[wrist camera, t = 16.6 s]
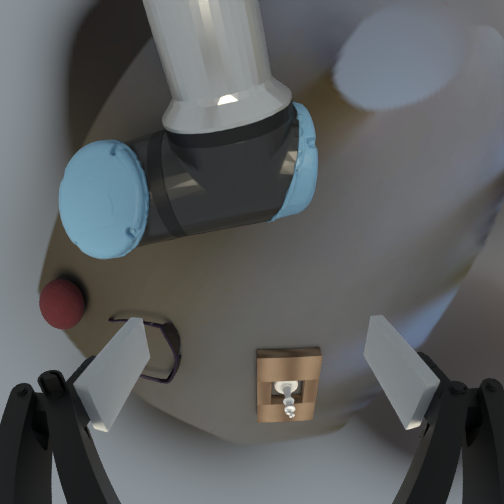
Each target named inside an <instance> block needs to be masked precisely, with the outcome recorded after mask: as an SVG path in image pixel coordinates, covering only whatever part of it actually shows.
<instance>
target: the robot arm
mask: <svg viewBox="0 0 504 504" xmlns="http://www.w3.org/2000/svg"><path fill="white" fill-rule="evenodd" d="M143 3H144V7H145V10H146V13H147V17H148V21H149V24H150V27H151V31H152V34H153V37H154V41H155V44H156V47H157V51H158V54H159V57H160V60H161V63H162V67H163V70H164V73H165V76H166V79H167V82H168V85H169V89H170V92H171V95H172V100H171V102H170V104H169V106H168V107H167V109H166V111H165V113H164V115H163V117H162V123H163V127H164V129H165V130H163V131H159V132H156V133H153V134H150V135H147V136H143V137H140V138H138V139H135V140H132V141H129V142H125V143H122V142H120V141H117V140H103V141H95V142H92V143H90V144H88V145H86V146H84V147H83V148H81V149H80V150H79V151H78V152H77V153H76V154H75V155H74V156H73V157H72V159H71V160H70V162H69V163H68V165H67V167H66V169H65V176H64V178H63V180H62V181H61V183H60V189H59V210H60V216H61V220H62V223H63V226H64V228H65V230H66V233H67V234H68V236H69V238H70V239H71V240H72V242H73V243H74V244H76V245H77V246H78V247H79V248H80V250H81V251H82V252H84V253H85V254H87V255H89V256H91V257H94V258H99V259H110V258H117V257H122V256H125V255H126V254H127V253H129V252H131V250H132V249H134V248H137V247H140V246H144V245H148V244H152V243H157V242H161V241H167V240H173V239H176V238H179V237H184V236H188V235H195V234H201V233H206V232H211V231H217V230H222V229H227V228H233V227H238V226H244V225H250V224H255V223H261V222H270V221H274V220H276V219H278V218H281V217H285V216H289V215H293V214H297V213H299V212H301V211H303V210H304V209H305V208H306V207H307V206H308V205H309V203H310V201H311V199H312V197H313V195H314V191H315V187H316V182H317V173H318V151H317V148H316V147H315V138H316V135H315V129H314V125H313V122H312V119H311V116H310V114H309V112H308V110H307V109H306V108H305V107H304V106H303V105H302V104H299V103H296V102H293V101H292V94H291V91H290V89H289V88H288V87H286V86H285V85H283V84H282V83H281V82H279V81H278V80H276V79H275V78H274V77H273V76H272V75H271V71H270V65H269V59H268V52H267V46H266V40H265V35H264V29H263V23H262V18H261V12H260V7H259V2H258V0H143ZM363 356H364V357H365V359H366V361H367V362H368V364H369V366H370V367H371V369H372V371H373V373H374V374H375V376H376V378H377V379H378V381H379V383H380V385H381V386H382V388H383V390H384V391H385V393H386V395H387V397H388V399H389V400H390V402H391V404H392V406H393V407H394V409H395V411H396V413H397V414H398V416H399V418H400V420H401V422H402V423H403V425H404V427H405V429H406V430H407V429H411V428H414V427H417V426H420V424H421V422H422V420H423V418H424V417H425V419H426V420H427V424H426V426H425V428H424V430H423V431H422V433H421V435H420V438H421V440H420V443H419V445H418V448H417V451H416V453H415V456H414V458H413V461H412V463H411V465H410V468H409V470H408V472H407V475H406V477H405V479H404V481H403V483H402V485H401V487H400V489H399V491H398V494H397V495H396V497H395V499H394V502H393V503H392V504H446V501H447V498H448V495H449V492H450V489H451V486H452V482H453V479H454V475H455V472H456V468H457V464H458V459H459V455H460V451H461V446H462V459H463V499H462V504H504V389H503V386H502V385H501V383H500V382H499V381H497V380H495V379H491V378H488V379H485V380H483V381H482V383H481V385H480V387H479V388H472V389H468V387H467V386H466V385H465V384H464V383H462V382H459V381H450V380H449V379H448V378H447V376H446V375H445V374H444V373H443V372H442V371H441V370H440V369H439V367H437V365H436V364H435V363H433V361H432V360H431V359H430V357H429V356H427V355H425V354H424V353H422V352H417V353H416V352H415V351H414V350H413V348H412V347H411V346H410V345H409V344H408V343H407V342H406V341H405V339H404V338H403V337H402V336H401V335H400V334H399V333H398V332H397V331H396V330H395V328H394V327H393V326H392V325H391V324H390V323H389V322H388V321H387V320H386V319H385V318H384V316H383V315H375V316H370V322H369V328H368V334H367V339H366V345H365V350H364V354H363ZM149 359H150V354H149V349H148V345H147V340H146V335H145V330H144V324H143V319H142V318H133V317H131V318H130V319H129V320H128V321H127V322H126V323H125V324H124V326H123V327H122V328H121V329H120V330H119V331H118V332H117V333H116V335H115V336H114V337H113V338H112V339H111V340H110V341H109V343H108V344H107V345H106V346H105V347H104V348H103V349H102V351H101V352H100V353H99V354H98V355H97V356H91V357H89V358H88V359H86V360H85V361H84V362H83V363H82V364H81V366H80V367H79V368H78V369H77V370H76V371H75V372H74V373H73V374H72V376H71V377H70V378H69V379H68V380H67V381H66V382H65V379H64V377H63V375H62V373H61V372H60V371H57V370H49V371H46V372H44V373H42V374H41V375H40V376H39V377H38V384H39V386H40V387H41V390H42V392H43V393H37V392H34V390H33V388H32V387H31V385H30V384H27V383H21V384H18V385H16V386H15V387H14V388H13V389H12V391H11V393H10V396H9V399H8V402H7V404H6V407H5V410H4V414H3V417H2V420H1V423H0V504H52V494H51V473H52V471H51V470H52V452H53V455H54V459H55V463H56V467H57V471H58V475H59V479H60V482H61V485H62V489H63V492H64V495H65V498H66V501H67V504H121V503H120V501H119V499H118V497H117V495H116V493H115V491H114V489H113V487H112V485H111V483H110V481H109V479H108V477H107V474H106V472H105V470H104V468H103V465H102V463H101V460H100V458H99V455H98V453H97V450H96V448H95V445H94V442H93V439H92V437H91V434H90V431H89V429H88V427H87V424H88V423H89V421H91V423H92V425H93V426H94V428H95V429H98V430H102V431H106V432H109V430H110V428H111V426H112V424H113V422H114V421H115V419H116V417H117V415H118V413H119V411H120V410H121V408H122V406H123V404H124V402H125V401H126V399H127V397H128V395H129V393H130V392H131V390H132V388H133V387H134V385H135V383H136V381H137V380H138V378H139V376H140V374H141V373H142V371H143V369H144V367H145V366H146V364H147V362H148V360H149Z"/></svg>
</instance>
